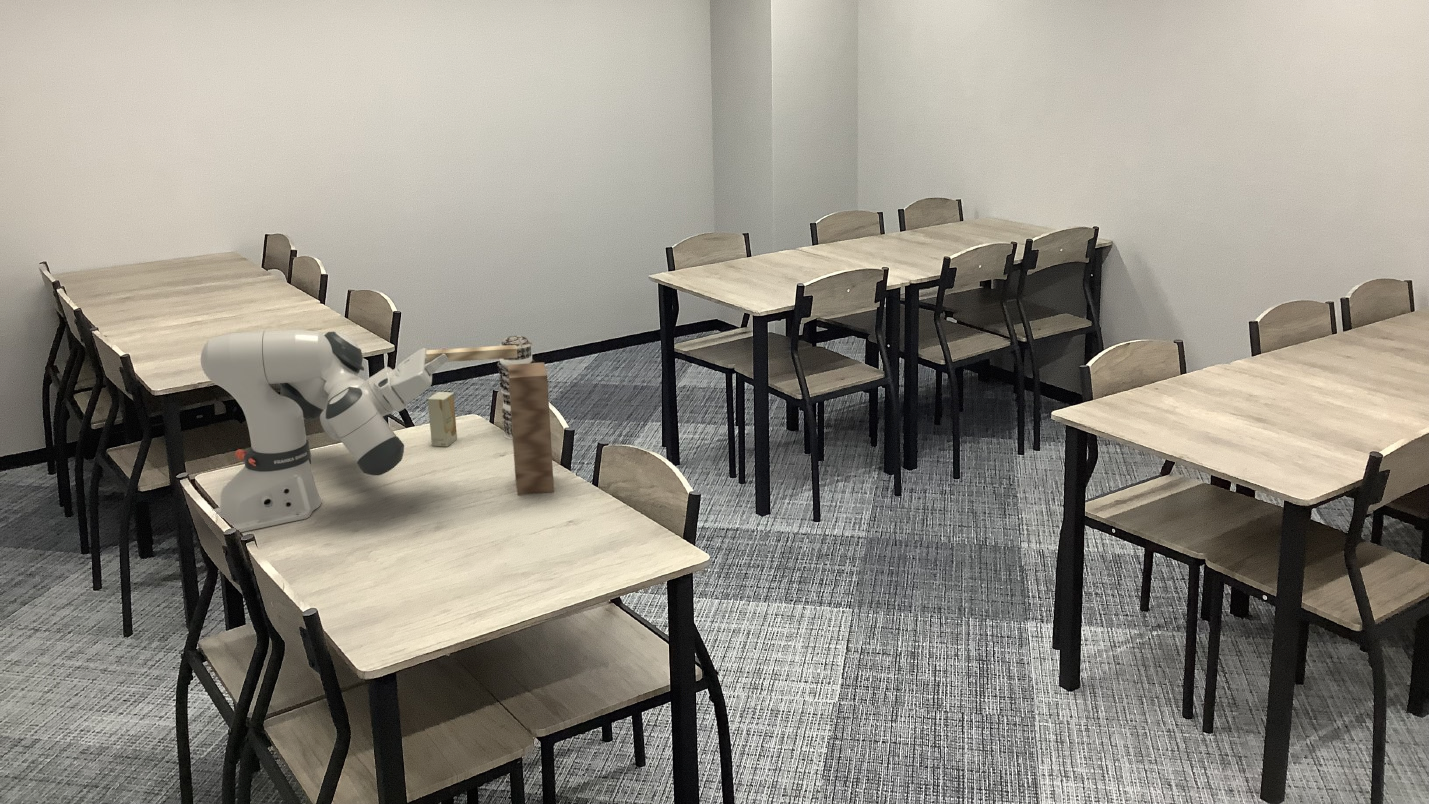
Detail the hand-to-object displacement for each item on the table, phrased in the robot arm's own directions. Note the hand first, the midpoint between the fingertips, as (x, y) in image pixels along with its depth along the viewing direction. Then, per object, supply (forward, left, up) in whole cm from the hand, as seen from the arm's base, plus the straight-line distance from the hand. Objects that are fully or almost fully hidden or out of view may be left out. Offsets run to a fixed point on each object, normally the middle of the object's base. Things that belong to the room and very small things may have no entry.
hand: (446, 353), depth 256 cm
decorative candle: (+31, +22, -32) cm, 50 cm away
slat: (+5, -3, -1) cm, 5 cm away
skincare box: (+14, +30, -32) cm, 46 cm away
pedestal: (+14, -8, -32) cm, 36 cm away
